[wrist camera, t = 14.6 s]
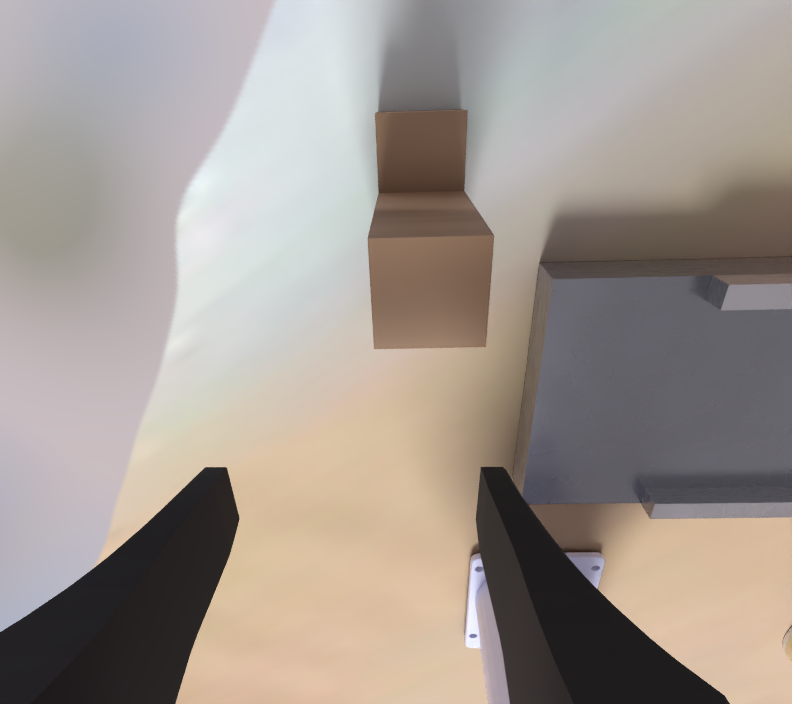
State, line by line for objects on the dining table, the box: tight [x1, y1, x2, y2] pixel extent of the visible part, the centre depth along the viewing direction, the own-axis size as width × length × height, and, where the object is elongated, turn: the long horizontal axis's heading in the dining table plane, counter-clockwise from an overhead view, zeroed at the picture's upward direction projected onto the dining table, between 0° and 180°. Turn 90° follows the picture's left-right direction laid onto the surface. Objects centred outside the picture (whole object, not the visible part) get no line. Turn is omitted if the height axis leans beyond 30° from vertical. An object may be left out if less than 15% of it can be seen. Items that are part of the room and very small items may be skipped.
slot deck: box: [513, 257, 792, 519], centre depth 21 cm, size 12×20×3 cm, turn 92°
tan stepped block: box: [368, 109, 494, 349], centre depth 15 cm, size 8×3×8 cm, turn 2°
